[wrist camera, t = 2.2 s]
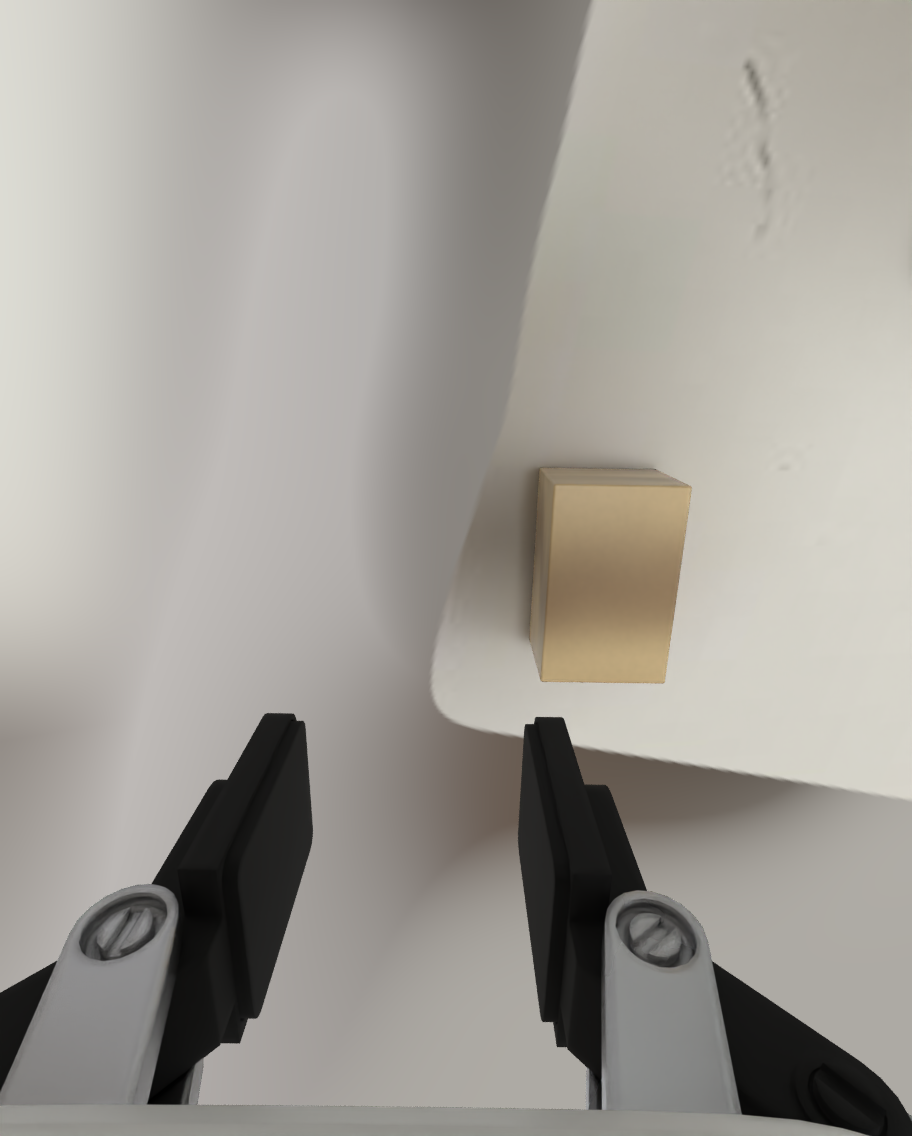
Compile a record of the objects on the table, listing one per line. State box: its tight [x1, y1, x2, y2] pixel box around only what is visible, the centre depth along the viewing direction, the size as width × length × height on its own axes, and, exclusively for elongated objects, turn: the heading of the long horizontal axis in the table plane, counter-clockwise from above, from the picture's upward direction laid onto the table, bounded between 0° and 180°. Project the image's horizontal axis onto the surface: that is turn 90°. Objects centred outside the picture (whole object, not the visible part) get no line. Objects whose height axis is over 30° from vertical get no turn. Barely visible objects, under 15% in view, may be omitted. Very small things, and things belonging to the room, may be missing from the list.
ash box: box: [529, 468, 692, 683], centre depth 25 cm, size 8×5×4 cm, turn 179°
